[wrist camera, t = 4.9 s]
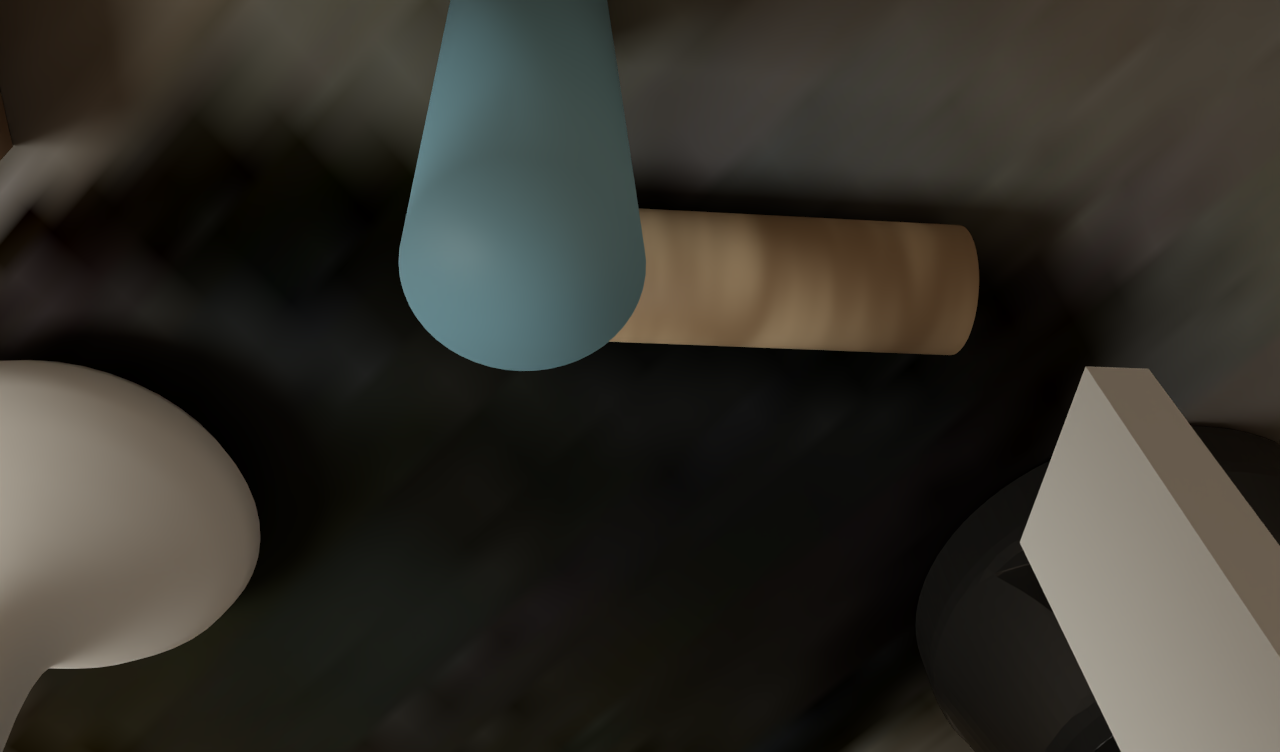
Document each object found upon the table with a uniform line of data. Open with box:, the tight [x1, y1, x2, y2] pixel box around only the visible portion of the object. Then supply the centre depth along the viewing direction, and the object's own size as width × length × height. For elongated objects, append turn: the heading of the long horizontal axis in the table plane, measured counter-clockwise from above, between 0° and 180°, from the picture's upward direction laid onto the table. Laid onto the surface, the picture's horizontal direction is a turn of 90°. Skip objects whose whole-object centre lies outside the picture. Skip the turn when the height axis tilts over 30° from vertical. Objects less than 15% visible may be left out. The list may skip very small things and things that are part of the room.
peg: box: [399, 0, 646, 371], centre depth 23 cm, size 4×4×14 cm
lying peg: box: [609, 208, 979, 355], centre depth 32 cm, size 12×4×4 cm
